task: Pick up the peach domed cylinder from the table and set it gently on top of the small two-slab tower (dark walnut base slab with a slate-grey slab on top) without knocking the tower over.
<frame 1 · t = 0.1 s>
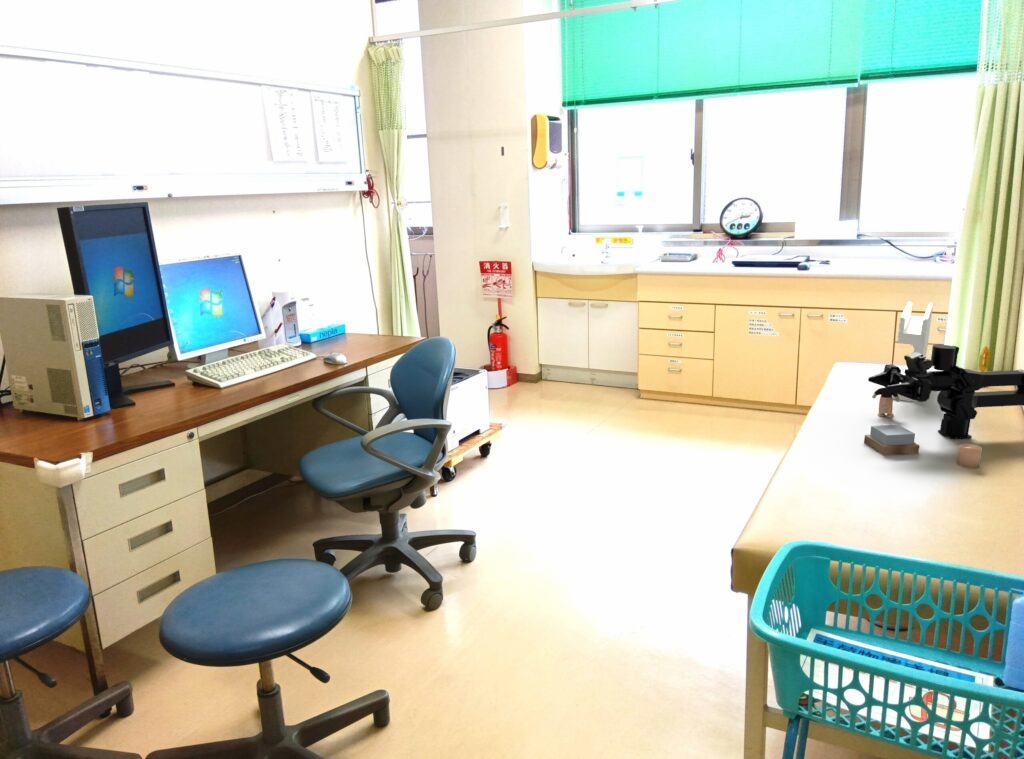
hand: (877, 383, 214), 17 cm above the table, tool horizontal, fingers open, 9 cm apart
grey top slab: (891, 439, 211), point 2 cm above the table, touching walnut base slab
peach domed cylinder: (968, 464, 199), on the table
walnut base slab: (890, 450, 211), on the table, touching grey top slab
grandmother figurine: (883, 416, 239), on the table
white forked cradle stand: (907, 388, 269), on the table
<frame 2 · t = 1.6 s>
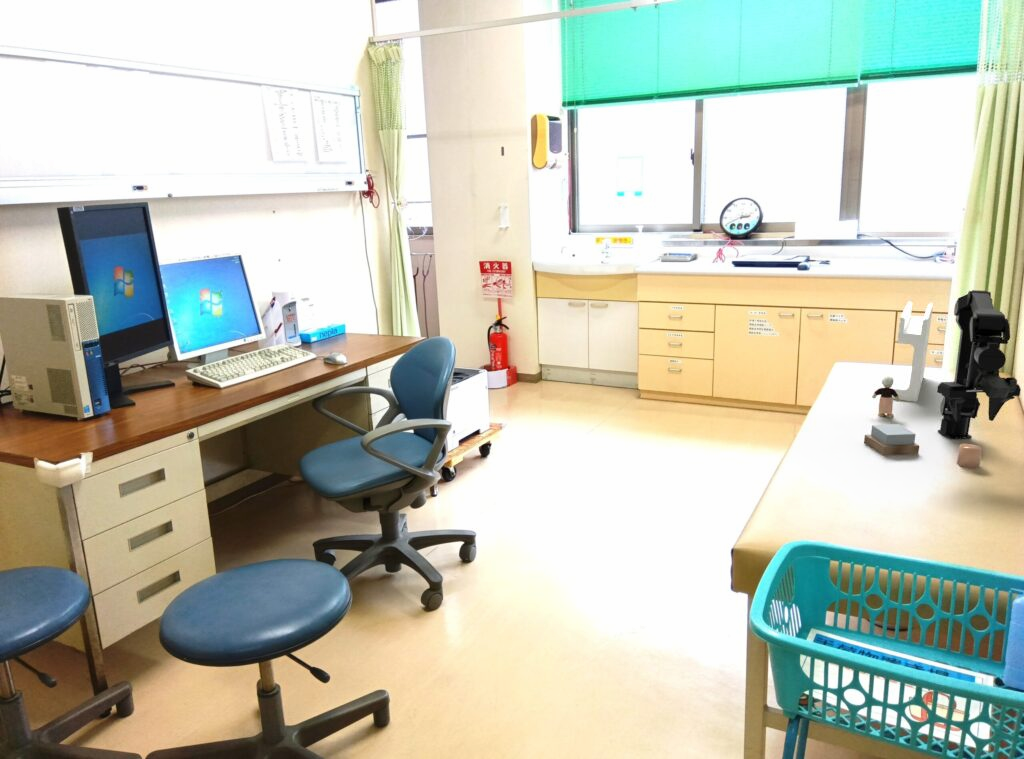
hand: (973, 421, 195), 12 cm above the table, tool pointing down, fingers open, 9 cm apart
nothing on the table moved.
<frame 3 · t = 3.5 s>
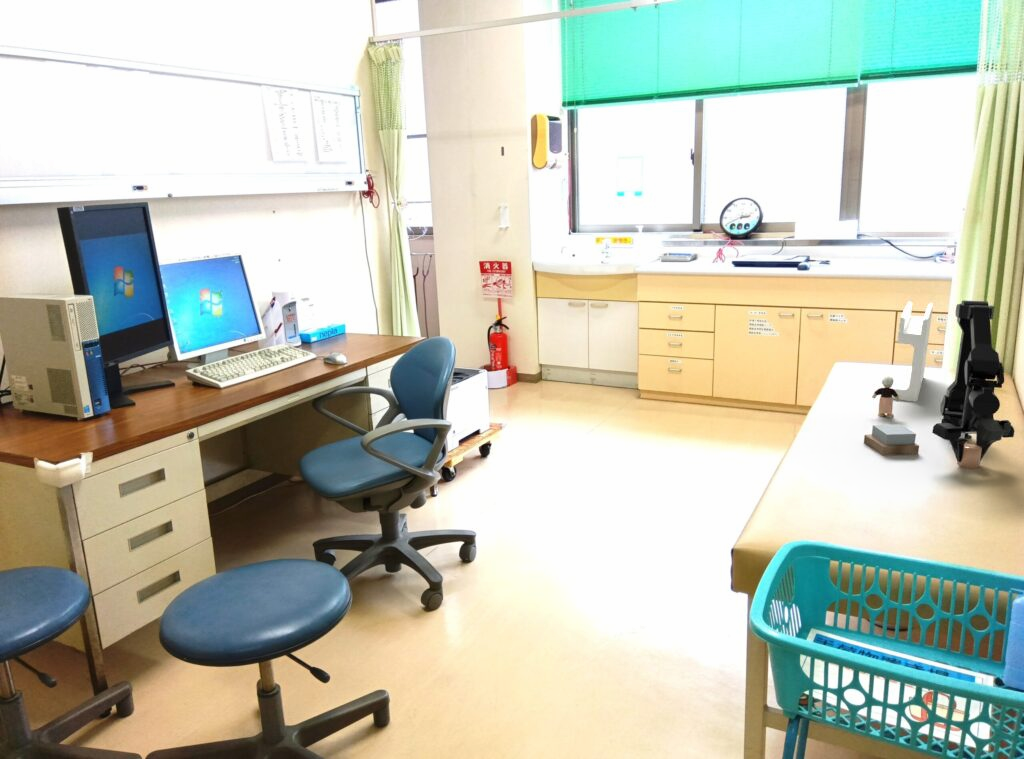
hand: (968, 461, 198), 1 cm above the table, tool pointing down, fingers closed on peach domed cylinder, 5 cm apart
peach domed cylinder: (968, 464, 199), on the table, touching gripper
everything else where it was.
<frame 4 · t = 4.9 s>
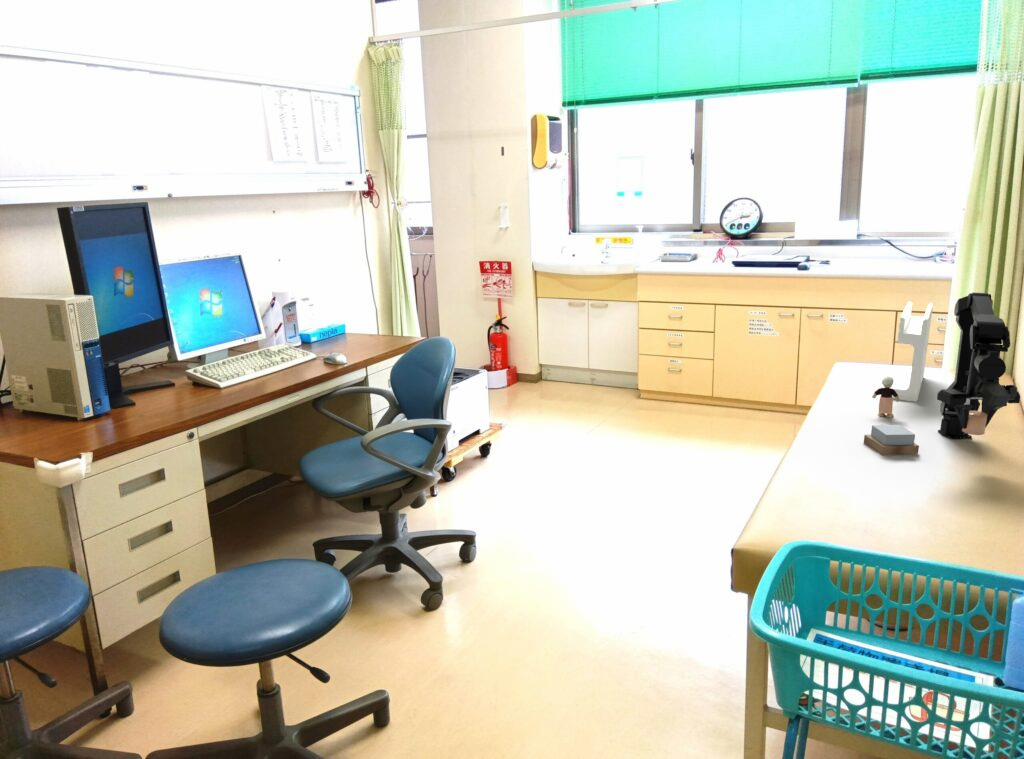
hand: (973, 427, 196), 10 cm above the table, tool pointing down, fingers closed on peach domed cylinder, 5 cm apart
grey top slab: (891, 439, 210), point 2 cm above the table
peach domed cylinder: (973, 431, 196), point 9 cm above the table, touching gripper
walnut base slab: (889, 450, 211), on the table
everything else where it was.
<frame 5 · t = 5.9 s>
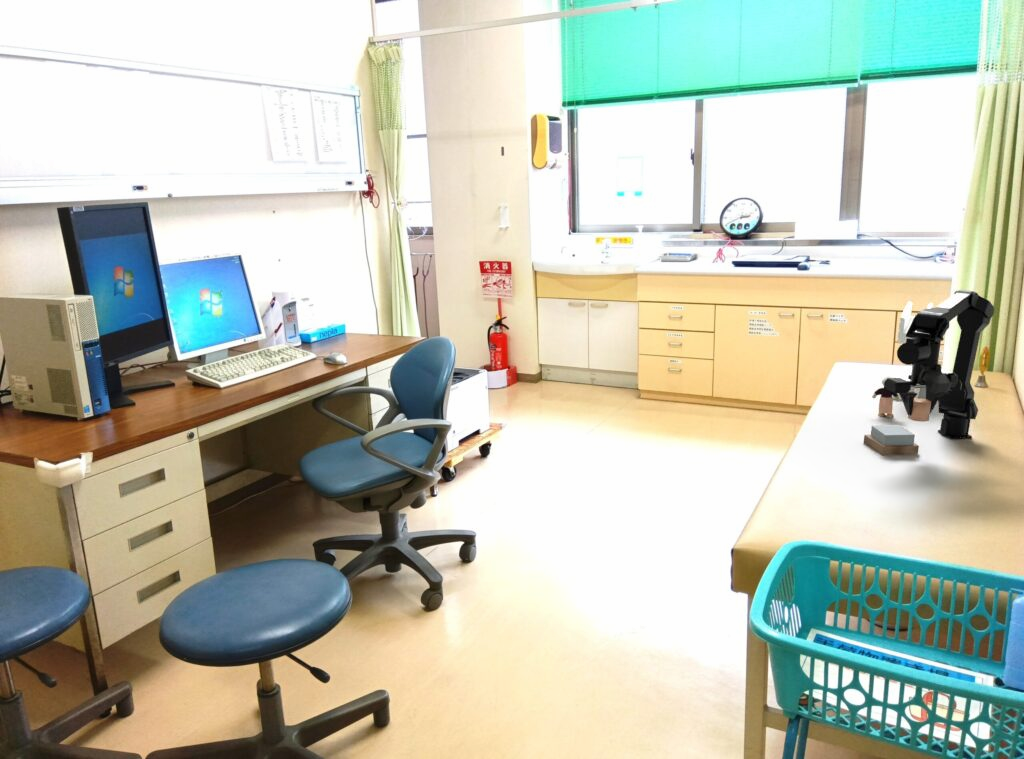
hand: (918, 414, 204), 11 cm above the table, tool pointing down, fingers closed on peach domed cylinder, 5 cm apart
grey top slab: (891, 440, 210), point 2 cm above the table, touching walnut base slab
peach domed cylinder: (918, 418, 204), point 10 cm above the table, touching gripper
walnut base slab: (889, 450, 211), on the table, touching grey top slab
everything else where it was.
when the fingers open (8 cm above the table, at t = 7.6 s): peach domed cylinder drops 2 cm, resting on grey top slab.
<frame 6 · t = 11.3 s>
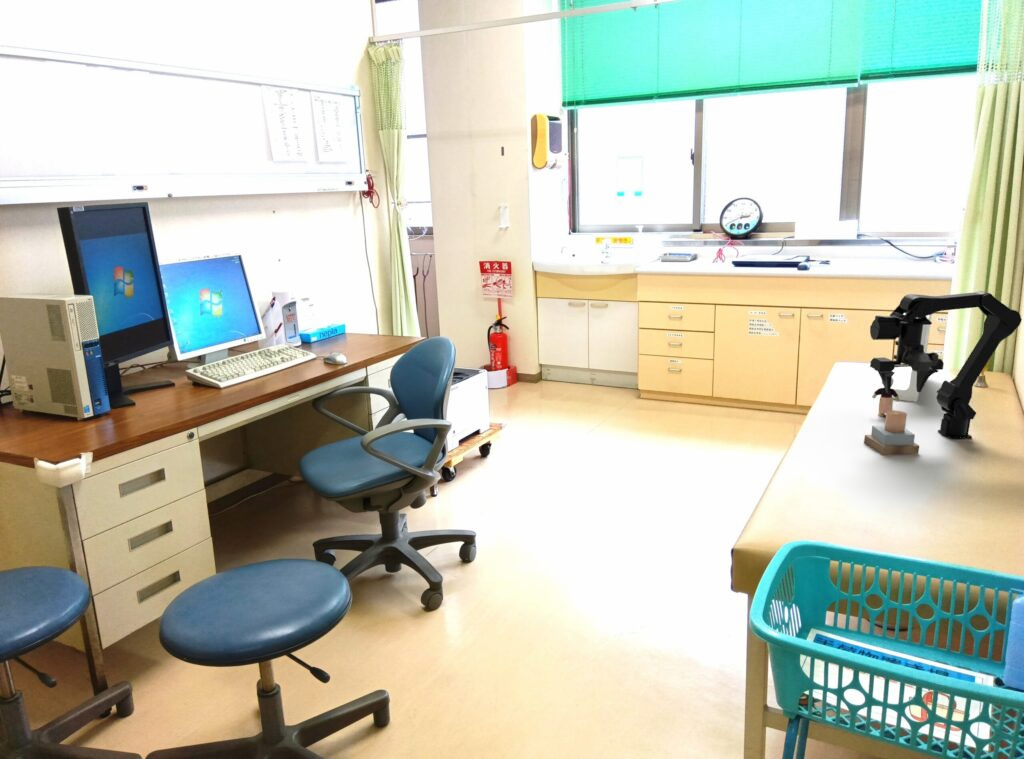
hand: (903, 392, 218), 13 cm above the table, tool pointing down, fingers open, 9 cm apart
grey top slab: (891, 440, 210), point 2 cm above the table, touching peach domed cylinder
peach domed cylinder: (894, 430, 209), point 5 cm above the table, touching grey top slab
walnut base slab: (890, 450, 211), on the table
everything else where it was.
at the end: peach domed cylinder 0.2 cm from the grey top slab (horizontally); peach domed cylinder point 5.4 cm above the table; grey top slab 0.1 cm off-centre on the walnut base slab, point 3.0 cm above the walnut base slab's base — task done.
